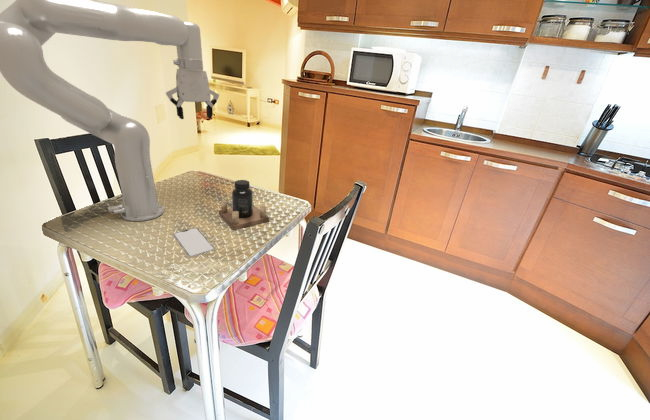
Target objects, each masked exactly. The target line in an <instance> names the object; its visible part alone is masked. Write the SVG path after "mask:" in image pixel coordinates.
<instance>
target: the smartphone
mask: <svg viewBox="0 0 650 420" xmlns="http://www.w3.org/2000/svg"><path fill="white" fill-rule="evenodd" d="M172 236H173V238H174V239H175V240H176V242H177V243H178V244H179V245H180V247H181V248H182V249H183V250H184V252H185V254H186V255H187V256H188V257H189V258H193V257H197V256H200V255H203V254H207V253H209V252H212V251H215V247H214V246H213V244H212V243H211V242H210V241H209V240H208V238H207V237H206V236H205V235H204V234H203V233H202V232H201V230H200V229H199V228H197V227H193V228H192V227H191V228H189V229H184V230H181V231H177V232H174V233H173V235H172Z"/></svg>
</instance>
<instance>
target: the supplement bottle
mask: <svg viewBox="0 0 650 420" xmlns="http://www.w3.org/2000/svg"><path fill="white" fill-rule="evenodd" d="M250 187H251V186H250V181H249V180H246V179H238V180H235V181H234V188H233V189H232V191H231V198H232V199H231V201H232V202H231V203H232V205H233V211H238V212H239V218H247V217H250V216H251V215H252V214H253V205H254V194H253V193H254V192H253V191H252V189H251V188H250Z"/></svg>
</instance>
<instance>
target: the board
mask: <svg viewBox="0 0 650 420" xmlns="http://www.w3.org/2000/svg"><path fill="white" fill-rule="evenodd" d="M227 202H228V200H226V199H222V201H220V209H221V210H218V216H219V217H221V218H222V219H223V221H224V222H225V224H227V225H228V226H229V227H230V228H231V229H232V230H233V231H236V230H240V229H244V228H248V227H251V226H256V225H260V224H263V223H268V222H270V217H269V216H268V215H267V205H264V204H262V205H260V207H259V208H258V207H257V206H256V205H254V204H253V214H252V215H251V216H250V217H247V218H239V212H238V211H233V208H231V207H230V208H228V204H227Z"/></svg>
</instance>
